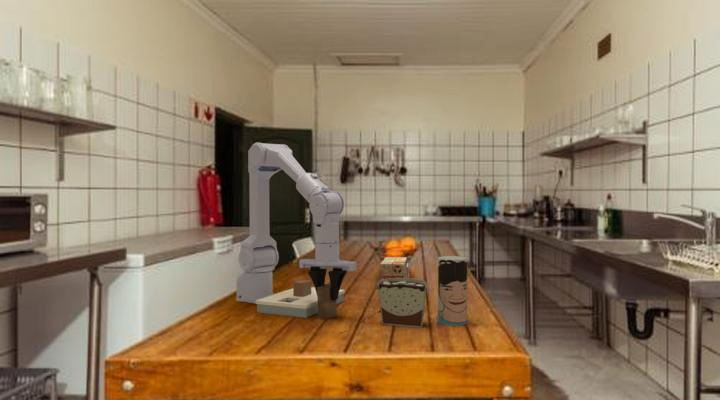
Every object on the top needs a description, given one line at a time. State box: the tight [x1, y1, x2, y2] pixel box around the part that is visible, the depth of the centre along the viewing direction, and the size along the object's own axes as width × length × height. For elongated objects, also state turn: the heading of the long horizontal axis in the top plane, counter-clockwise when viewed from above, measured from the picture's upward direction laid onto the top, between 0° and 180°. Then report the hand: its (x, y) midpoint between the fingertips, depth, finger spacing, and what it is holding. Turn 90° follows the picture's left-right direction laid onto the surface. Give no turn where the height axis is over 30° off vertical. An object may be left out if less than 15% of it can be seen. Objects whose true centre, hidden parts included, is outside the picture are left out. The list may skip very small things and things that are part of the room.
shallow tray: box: [256, 293, 345, 319], centre depth 136 cm, size 14×20×3 cm
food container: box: [375, 277, 429, 328], centre depth 122 cm, size 12×6×10 cm, turn 71°
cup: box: [437, 255, 468, 327], centre depth 122 cm, size 7×7×15 cm
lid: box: [255, 279, 346, 309], centre depth 136 cm, size 15×21×4 cm
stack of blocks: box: [379, 256, 410, 280], centre depth 145 cm, size 21×6×12 cm, turn 171°
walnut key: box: [317, 283, 338, 320], centre depth 125 cm, size 3×4×8 cm
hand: (327, 299), depth 126 cm, fingers open, 3 cm apart
